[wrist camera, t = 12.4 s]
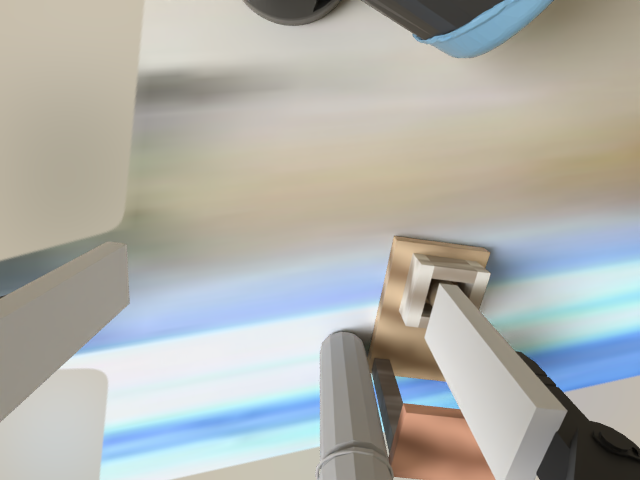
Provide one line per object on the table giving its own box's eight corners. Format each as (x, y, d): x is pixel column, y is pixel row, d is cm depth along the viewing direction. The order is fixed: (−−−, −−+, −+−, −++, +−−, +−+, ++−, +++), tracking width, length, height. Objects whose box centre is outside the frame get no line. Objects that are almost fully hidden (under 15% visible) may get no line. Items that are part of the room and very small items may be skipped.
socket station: (394, 235, 47) (438, 299, 29) (483, 247, 47) (578, 316, 30) (366, 364, 53) (388, 476, 36) (444, 372, 54) (502, 487, 37)
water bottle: (330, 320, 51) (339, 487, 27) (374, 339, 52) (421, 515, 28) (305, 365, 54) (293, 552, 30) (348, 382, 55) (370, 576, 31)
